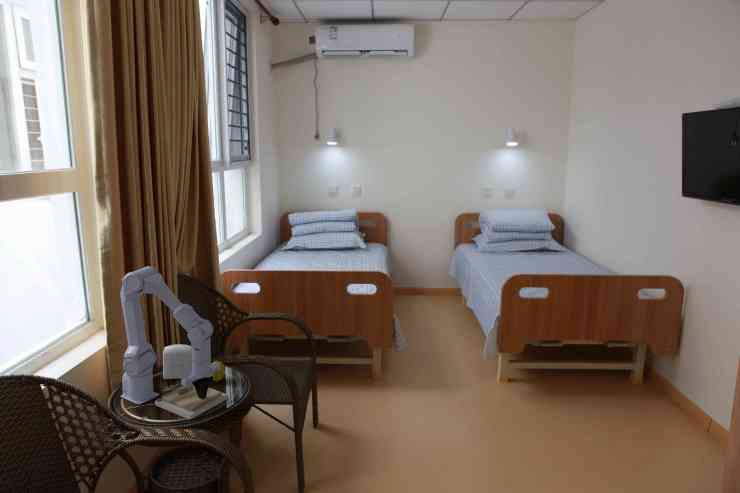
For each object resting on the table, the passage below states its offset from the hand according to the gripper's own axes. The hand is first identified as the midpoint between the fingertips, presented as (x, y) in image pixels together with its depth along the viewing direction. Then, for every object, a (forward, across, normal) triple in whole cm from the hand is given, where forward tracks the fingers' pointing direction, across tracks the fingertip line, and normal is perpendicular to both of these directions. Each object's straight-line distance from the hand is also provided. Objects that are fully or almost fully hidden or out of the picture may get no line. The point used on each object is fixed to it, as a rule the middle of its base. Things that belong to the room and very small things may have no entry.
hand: (202, 397), depth 164 cm
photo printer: (+3, +10, +23) cm, 25 cm away
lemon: (+3, +15, +9) cm, 18 cm away
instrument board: (+1, 0, +5) cm, 5 cm away
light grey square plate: (+3, 0, +5) cm, 5 cm away
